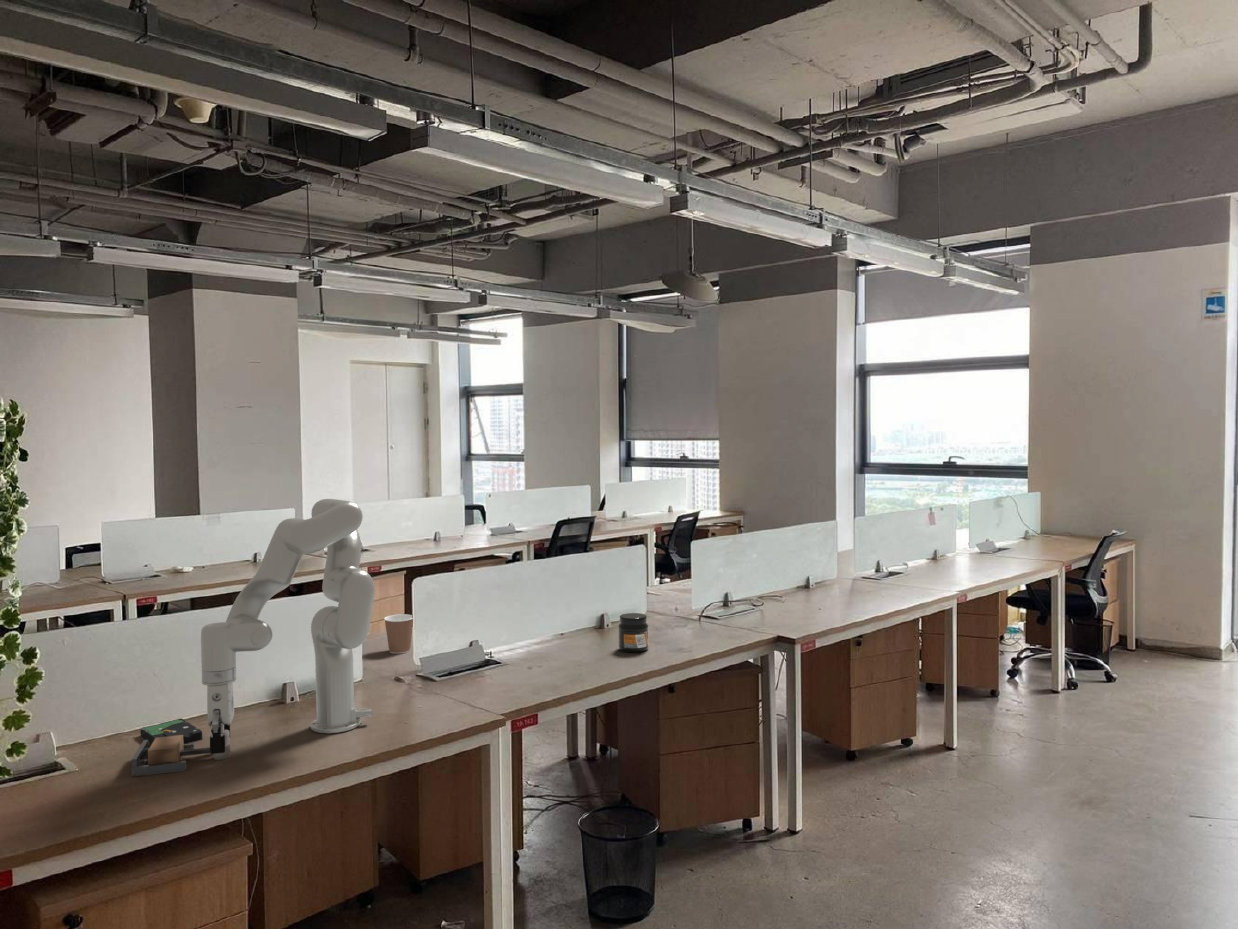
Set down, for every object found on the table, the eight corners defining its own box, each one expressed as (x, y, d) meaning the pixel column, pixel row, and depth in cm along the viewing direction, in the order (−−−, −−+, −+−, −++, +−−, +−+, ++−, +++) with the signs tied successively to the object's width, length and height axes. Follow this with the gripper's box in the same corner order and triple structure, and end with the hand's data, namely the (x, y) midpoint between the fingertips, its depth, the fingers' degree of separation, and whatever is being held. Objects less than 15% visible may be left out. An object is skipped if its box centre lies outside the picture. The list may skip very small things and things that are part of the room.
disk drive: (203, 741, 224) (181, 727, 234) (203, 731, 224) (181, 717, 234) (160, 753, 216) (139, 738, 226) (160, 741, 216) (138, 727, 226)
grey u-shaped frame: (194, 751, 215) (193, 735, 215) (185, 770, 203) (184, 753, 203) (144, 756, 212) (143, 740, 212) (132, 777, 200) (131, 759, 200)
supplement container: (645, 654, 302) (644, 619, 301) (615, 652, 304) (614, 618, 304) (651, 646, 312) (650, 613, 311) (622, 645, 314) (621, 612, 314)
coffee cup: (406, 646, 317) (406, 613, 316) (420, 651, 309) (419, 617, 308) (379, 651, 310) (379, 617, 310) (392, 656, 302) (391, 622, 302)
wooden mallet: (232, 749, 216) (231, 725, 216) (227, 762, 208) (226, 737, 207) (156, 758, 211) (155, 733, 211) (148, 772, 203) (147, 746, 202)
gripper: (231, 683, 203) (233, 757, 204) (240, 665, 220) (241, 732, 220) (196, 686, 201) (197, 760, 202) (207, 667, 218) (208, 735, 218)
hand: (220, 746), depth 211 cm, fingers open, 9 cm apart
